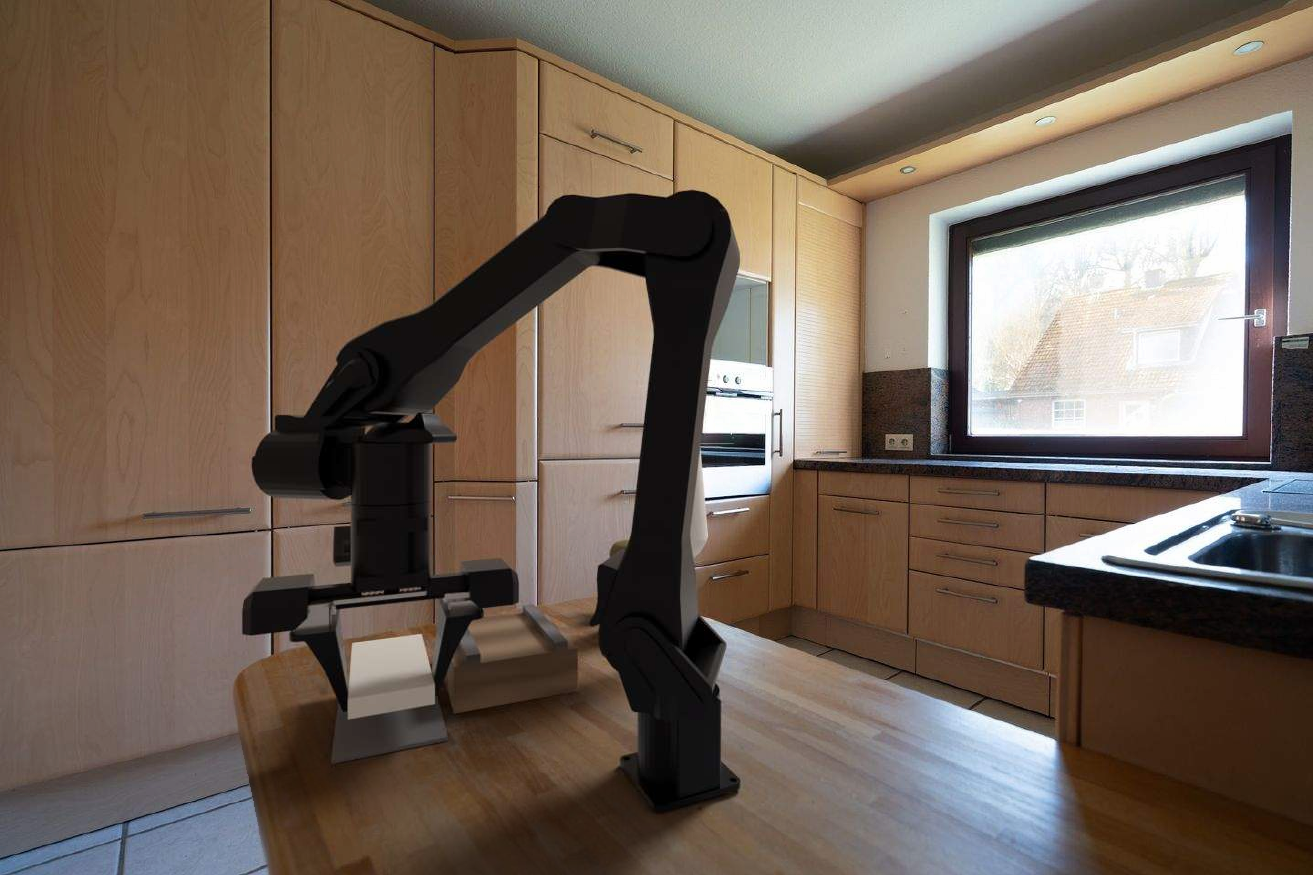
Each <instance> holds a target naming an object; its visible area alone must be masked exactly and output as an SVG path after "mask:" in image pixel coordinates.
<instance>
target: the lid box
mask: <svg viewBox="0 0 1313 875" xmlns="http://www.w3.org/2000/svg"><path fill="white" fill-rule="evenodd" d="M444 683H445V688H446V692H447V695H448V698H449V701H450V704H451V708H452V712H453V714H460V713H464V712H465V713H466V712H470V711H477V710H481V709H487V708H492V707H499V706H503V705H508V704H515V703H519V702H524V701H529V700H536V699H541V698H546V697H552V696H558V695H562V694H569V693H574V692H578V691H579V647H577V645H576V644H575V643H574V642H573V641H572V639H570V638H569V637H568V636H567V635H566V633H564V631H562V629H561V628H559V626H558V625H557V624H556V623H555V622H554V621H553V620H552V618H550V617H549V616H548V615H547V614H546V613H545V612H544V611H543V610H539V608H538V607H537V606H535V604H534V603H533V604H526V605H522V612H518V613H511V614H504V615H496V616H495V615H494V616H486V617H485V616H484V617H483V618H482V619H478V620H473V621H472V622H471V623H470V625H469V627H468V629H467V630H466V632H465V634H464V636H463V638H462V640H461V642H460V643H459V645H458V647H457V649H456V651H455V653H454V656H453V658H452V661H451V663H450V666H449V669H448V671H447V674H446V676H445V679H444Z"/></svg>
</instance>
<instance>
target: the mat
mask: <svg viewBox="0 0 1313 875" xmlns="http://www.w3.org/2000/svg"><path fill="white" fill-rule="evenodd" d="M438 696H439V695H438ZM438 696H435V704H432V705H427V706H421V707H416V708H410V709H404V710H399V711H393V712H388V713H382V714H376V715H371V716H365V717H360V718H354V719H348V712H343V711H342V709H341V707H340V705H339V702H338V701H337V710H336V717H335V718H336V719H335V726H334V733H333V743H332V750H331V759H330V764H331V765H334V764H338V763H344V762H347V761H353V760H359V759H364V758H368V757H373V756H377V755H384V754H388V753H393V752H397V751H399V752H400V751H403V750H408V749H413V748H419V747H423V746H428V745H431V744H432V745H434V744H436V743H437V744H438V743H442V742H448V741H449V740H448V734H447V733H448V732H447V729H446V726H445V722H444V718H443V716H444V715H443V713H442V709H441V704H440V702H439V701H440V700H439V697H438Z"/></svg>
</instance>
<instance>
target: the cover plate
mask: <svg viewBox="0 0 1313 875" xmlns="http://www.w3.org/2000/svg"><path fill="white" fill-rule="evenodd" d="M429 661H430V660H429V657H428V653H427V649H426V644H425V641H424V638H423V634H422V633H420V634H419V633H418V634H411V635H402V636H397V637H396V636H395V637H389V638H381V639H373V640H366V641H359V642H352V643H351V654H350V665H349V666H350V668H349V677H348V681H349V693H348V719H354V718H360V717H365V716H371V715H376V714H382V713H388V712H393V711H399V710H404V709H410V708H416V707H421V706H427V705H432V704H435V683H434V681H433V677H432V667H431V664H430V662H429Z"/></svg>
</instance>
